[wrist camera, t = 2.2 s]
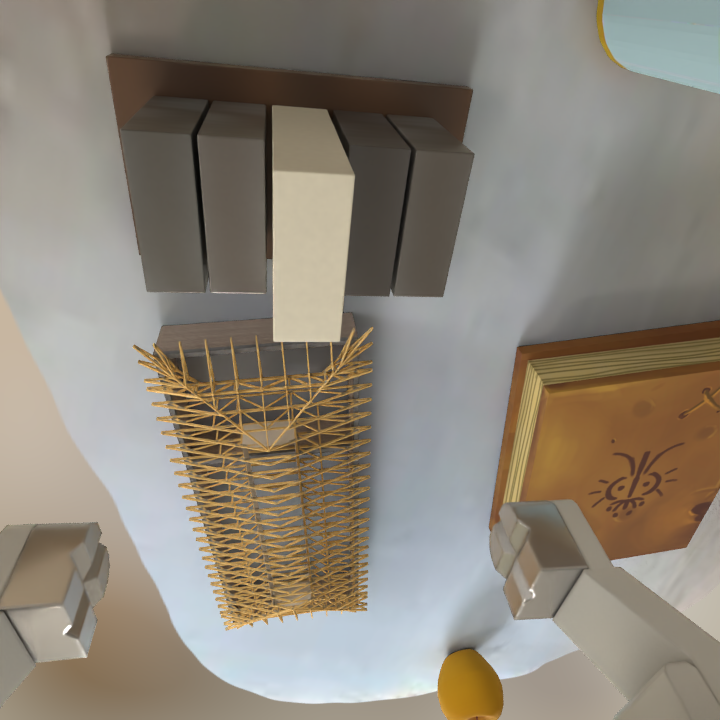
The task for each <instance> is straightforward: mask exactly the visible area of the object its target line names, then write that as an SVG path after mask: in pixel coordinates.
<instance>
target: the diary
mask: <svg viewBox="0 0 720 720" xmlns="http://www.w3.org/2000/svg"><path fill="white" fill-rule="evenodd" d="M719 489H720V320H719V321H711V322H703V323H696V324H688V325H681V326H673V327H665V328H658V329H650V330H643V331H635V332H628V333H620V334H612V335H605V336H597V337H590V338H582V339H575V340H567V341H559V342H552V343H544V344H537V345H529V346H522V347H517V352H516V358H515V365H514V371H513V377H512V384H511V390H510V396H509V403H508V409H507V415H506V422H505V428H504V435H503V441H502V447H501V454H500V460H499V466H498V473H497V479H496V485H495V492H494V498H493V504H492V511H491V517H490V523H489V529H490V532H491V530H492V527H493V526H494V525H495V524H496V523H498V522H499V521H500V520H501V519H500V516H499V514H498V513H499V510H500V508H501V506H502V505H503V504H504V503H506V502H522V501H538V500H548V501H551V500H566V499H569V500H573V501H574V502H575V503H577V505H578V506H579V508H580V510H581V512H582V513H583V515H584V517H585V518H586V520H587V522H588V524H589V525H590V527H591V529H592V530H593V532H594V534H595V536H596V537H597V539H598V541H599V542H600V544H601V546H602V547H603V549H604V551H605V553H606V554H607V556H608V558H609V559H610V560H615V559H621V558H627V557H633V556H639V555H645V554H651V553H657V552H663V551H669V550H675V549H681V548H686V547H687V545H688V544H689V542H690V540H691V538H692V536H693V535H694V533H695V531H696V529H697V528H698V526H699V524H700V522H701V521H702V519H703V517H704V515H705V514H706V512H707V510H708V508H709V507H710V505H711V503H712V501H713V500H714V498H715V496H716V494H717V493H718V491H719Z"/></svg>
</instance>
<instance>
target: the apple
mask: <svg viewBox="0 0 720 720" xmlns="http://www.w3.org/2000/svg"><path fill="white" fill-rule="evenodd" d="M438 698H439V702H440V705H441V709H442V711H443V713H444V715H445V716H446V717H447V719H448V720H497V719H498V718H499V717H500V715H501V712H502V709H503V690H502V685H501V682H500V679H499V677H498V675H497V674H496V672H495V671H494V669H493V668H492V667H491V665H490V664H489V663H488V662H487V661H486V660H485V659H484V658H483V657H482V656H481V655H480V654H479V653H478V652H477V651H475V650H472V649H464V650H460V651H457V652H454V653H452V654H450V655H449V656H448V657H447V658H446V659H445V661H444V663H443V664H442V667H441V670H440V674H439V679H438Z"/></svg>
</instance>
